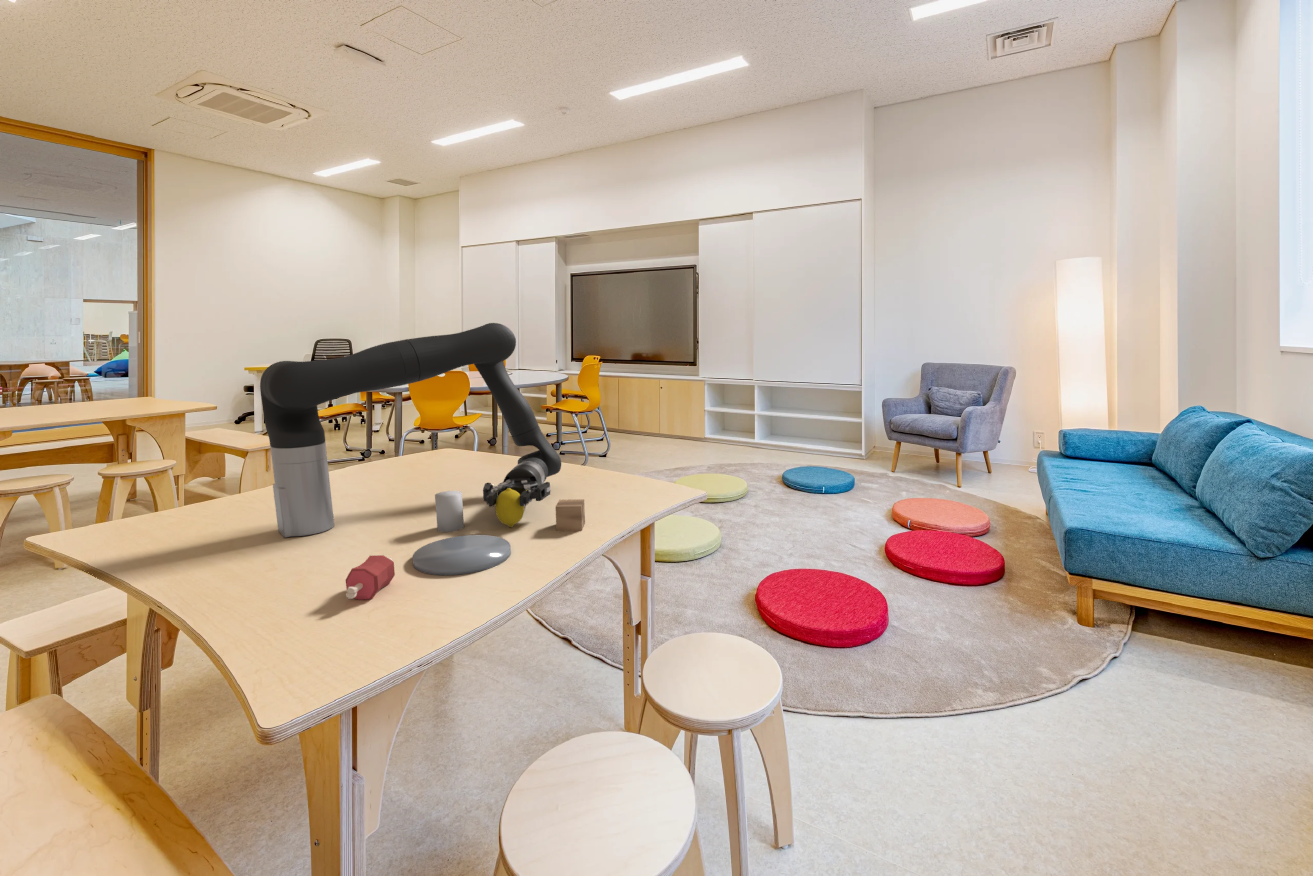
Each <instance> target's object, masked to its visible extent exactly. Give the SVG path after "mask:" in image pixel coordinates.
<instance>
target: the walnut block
mask: <svg viewBox="0 0 1313 876" xmlns="http://www.w3.org/2000/svg"><path fill="white" fill-rule="evenodd" d="M585 509H586V508H585V499H583V498H582V499H581V498H579V499H576V498H575V499H572V498H571V499H559V500H558V501H557V503H556V505H555V526H556V527H555V529H556V532H571V531H573V532H574V531H577V532H581V531H583V530H584V527H585V524H586V510H585Z"/></svg>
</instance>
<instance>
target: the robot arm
mask: <svg viewBox="0 0 1313 876" xmlns="http://www.w3.org/2000/svg"><path fill="white" fill-rule="evenodd" d="M516 345H517V340H516V336H515V334H514V331H512V330H511V328H509V327H508V326H506V325H504V324H501V323H497V322H489V323H486V324H483V325H480V326H478V327H474V328H470V329H467V330H465V331H459V332H457V333H456V332H455V333H452V334H441V335H439V334H438V335H429V336H428V335H427V336H421V337H415V338H414V337H413V338H406V339H400V340H395V341H390V342H385V343H381V344H378V345H374V346H371V347H369V348H366V349H363V350H360V351H358V352H355V353H353V354H349V355H347V356H342V357H337V358H328V359H320V360H310V361H309V360H307V361H306V360H305V361H296V360H295V361H294V360H281V361H276V362H274V363H272V364H270V365H269V366H268V367H266V368H265V369H264V371H263V373H262V375H261V377H260V382H259V385H260V386H259V387H260V388H259V391H260V397H261V405H262V412H263V413H262V414H263V418H264V426H265V430H266V433H267V436H268V440H269V446H270V447H269V448H270V456H271V463H272V470H273V471H272V472H273V480H274V483H273V484H272V490H273V498H274V507H275V515H276V521H277V531H278V532H279V533H280V534H281V535H282V536H283V538H289V537H301V536H310V535H314V534H315V535H316V534H319V533H323V532H326V531H328V530H331V529H332V528H333V527H335V519H334V508H333V500H332V499H333V498H332V491H331V481H330V472H329V462H328V454H327V445H326V434H325V430H324V427H323V425H322V423H321V420H320V417H319V410H318V406H319V405H321V404H325V403H328V402H331V401H333V400H336V399H339V398H343V397H346V396H349V395H352V394H357V393H363V392H364V393H365V392H370V391H371V392H372V391H379V390H380V391H381V390H385V389H390V388H396V387H401V386H405V385H409V384H415V383H417V382H418V383H419V382H422V381H426V380H429V379H432V378H434V377H438V376H440V375H442V374H445V373H448V372H450V371H453V370H456V369H458V368H461V367H465V366H470V365H474V367H475V369H476V370H477V371H478V373H479V374H480V376H481V378H482V380H483V381H484V382H485V385H486V386H487V387H488V390H489V391H490V393H491V395H492V397H493V399H494V400H495V402H496V404H497V406H498V408H499V410H500V413H501V415H502V416H503V419H504V421H505V424H506V426H507V429H508V431H509V434H510V435H511V439H512V440H513V442H514V443H513V444H515V445H516V446H517V447H528V446H530V447H531V446H532V447H535V448H536V449H537V450H536V451H533V452H530V453H527V454H525V455H522V456H521V457H519V458H518V460H517V465H515V466H513V468H512V469H511V470H510V471H508V473H507V474H506V475H505V477H504V479H503V481H502V482H500V483H498V484H497V485H494V484H493V483H491V482H486V483H484V485H483V489H482V493H483V494H482V495H483V497H482V499H483V502H485V503H486V505H488V506H489V507H492V508H493V507H494V506H496V500H497V497H498V496H499V494H500V493H501V492H503V491H505V490H506V489H507V488H511V489H512V490H515V491H517V492H518V493H519V494H520V506H524V507H525V506H526V505H527V504H529V503H531V502H533V500H535V501H537V502H541V501H543V500H544V499H546V498H547V497H549V495H551V484H550V482H549V481H546V480H547V478H548V477H551V476H555V475H556V474H558V473H559V472H560V471H561V468H562V460H561V457H560V455H559V453H558V452H557V451H556V450H555V448H554V447H553V446H552V445H551V443H550V442H549V440H548V439H547V438H546V436H545V435H544V434H543V432H542V429H541V428H540V426H539V422H538V420H537V418H536V416H535V413H534V412H533V409H532V407H531V405H530V404H529V402H528V401H527V399H526V398H525V396H524V395H523V394H522V393H521V391H520V390H519V389H518V387H517V386H516V384H515V383H514V382H513V380H512V379H511V376H510V375H509V374H508V370H507V369H506V366H505V363H504V361H506V360H508V359H509V358H510V357H511V356H512V355H513V353H514V352H515V349H516Z"/></svg>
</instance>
